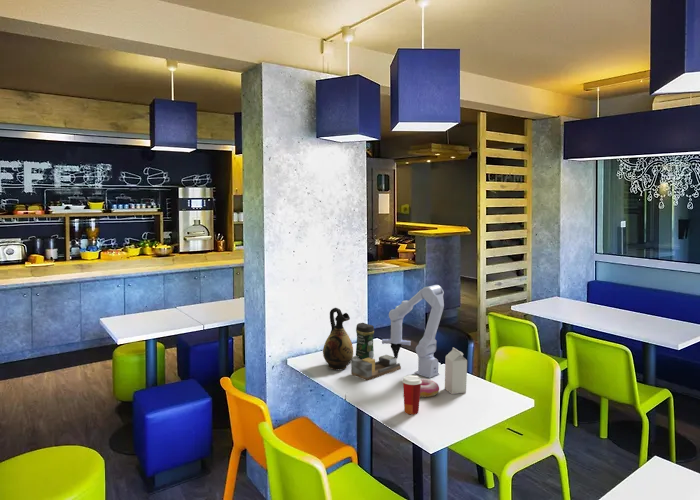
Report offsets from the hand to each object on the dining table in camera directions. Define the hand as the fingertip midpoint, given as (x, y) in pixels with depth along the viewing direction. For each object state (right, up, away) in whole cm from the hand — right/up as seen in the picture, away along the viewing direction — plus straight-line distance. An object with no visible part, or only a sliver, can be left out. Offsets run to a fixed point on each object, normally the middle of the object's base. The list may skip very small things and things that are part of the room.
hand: (395, 357), depth 263 cm
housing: (-15, -4, -14) cm, 20 cm away
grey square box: (-5, -3, -4) cm, 7 cm away
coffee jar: (-16, -3, +13) cm, 21 cm away
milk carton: (+24, -8, -34) cm, 42 cm away
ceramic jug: (-30, -4, -2) cm, 31 cm away
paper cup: (+1, -10, -56) cm, 57 cm away
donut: (+9, -8, -36) cm, 38 cm away
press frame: (-10, -5, -10) cm, 15 cm away
